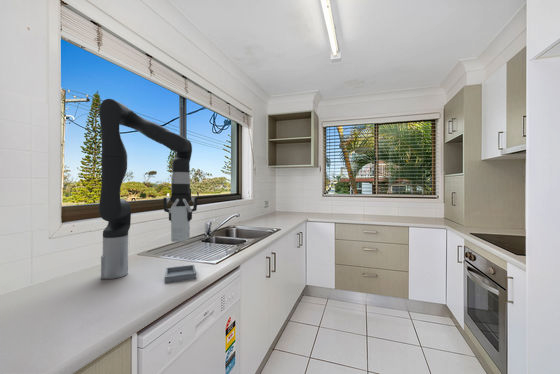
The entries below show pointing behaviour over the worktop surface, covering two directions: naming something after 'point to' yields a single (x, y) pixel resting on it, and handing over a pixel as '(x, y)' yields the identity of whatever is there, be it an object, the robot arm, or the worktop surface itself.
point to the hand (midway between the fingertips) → (180, 221)
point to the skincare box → (179, 224)
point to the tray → (180, 273)
